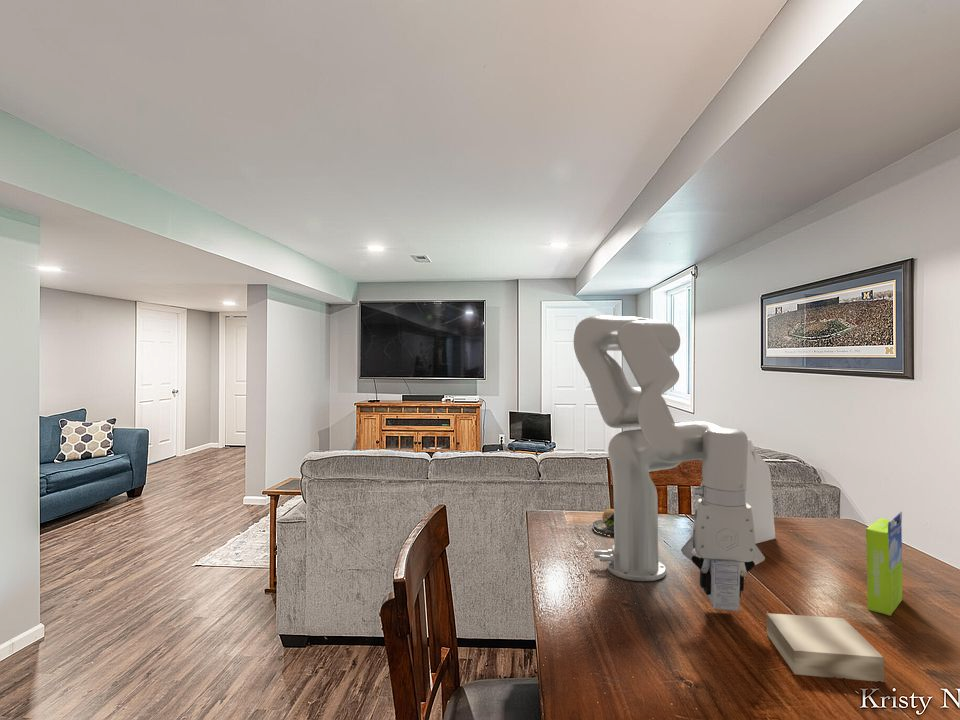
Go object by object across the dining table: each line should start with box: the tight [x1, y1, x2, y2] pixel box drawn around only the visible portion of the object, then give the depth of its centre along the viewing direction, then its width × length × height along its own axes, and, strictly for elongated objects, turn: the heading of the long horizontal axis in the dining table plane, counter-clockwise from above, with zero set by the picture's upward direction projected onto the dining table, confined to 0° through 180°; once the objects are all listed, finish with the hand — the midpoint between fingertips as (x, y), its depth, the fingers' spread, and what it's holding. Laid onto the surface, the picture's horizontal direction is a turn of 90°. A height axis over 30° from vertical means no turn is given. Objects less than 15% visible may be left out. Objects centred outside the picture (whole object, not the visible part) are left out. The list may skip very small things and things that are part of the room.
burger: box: [592, 506, 614, 537], centre depth 149 cm, size 12×12×8 cm
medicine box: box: [707, 560, 740, 612], centre depth 99 cm, size 8×4×9 cm, turn 168°
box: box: [865, 511, 903, 617], centre depth 102 cm, size 10×4×17 cm, turn 132°
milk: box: [746, 439, 776, 545], centre depth 143 cm, size 12×12×26 cm
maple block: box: [766, 612, 885, 683], centre depth 85 cm, size 12×12×4 cm
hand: (721, 591), depth 99 cm, fingers closed on medicine box, 4 cm apart
